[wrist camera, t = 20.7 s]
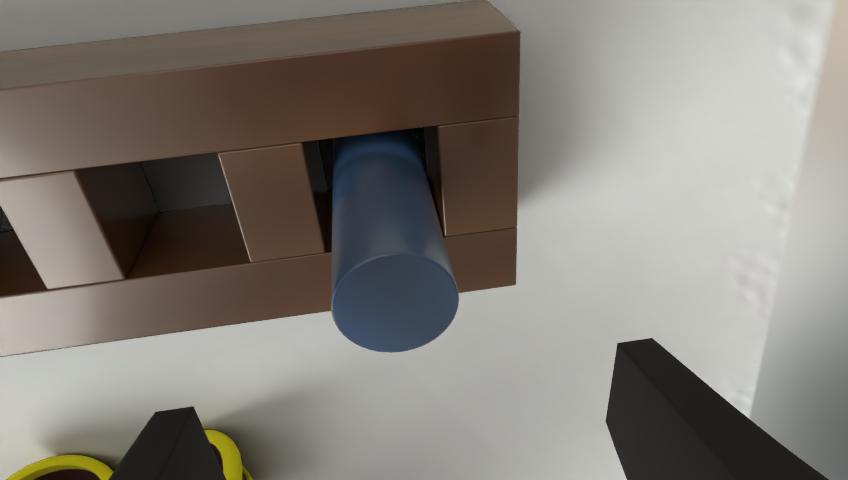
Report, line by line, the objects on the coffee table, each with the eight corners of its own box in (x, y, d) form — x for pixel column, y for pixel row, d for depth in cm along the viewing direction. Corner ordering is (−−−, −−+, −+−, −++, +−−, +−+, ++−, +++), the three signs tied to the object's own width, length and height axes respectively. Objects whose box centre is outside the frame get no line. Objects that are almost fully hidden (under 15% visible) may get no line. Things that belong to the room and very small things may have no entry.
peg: (364, 185, 18) (379, 371, 12) (316, 126, 17) (304, 297, 10) (427, 145, 18) (481, 314, 11) (383, 81, 16) (415, 230, 10)
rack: (490, 222, 20) (516, 285, 17) (-47, 293, 19) (-118, 374, 16) (487, -2, 16) (520, 30, 13) (-199, 73, 15) (-333, 126, 12)
